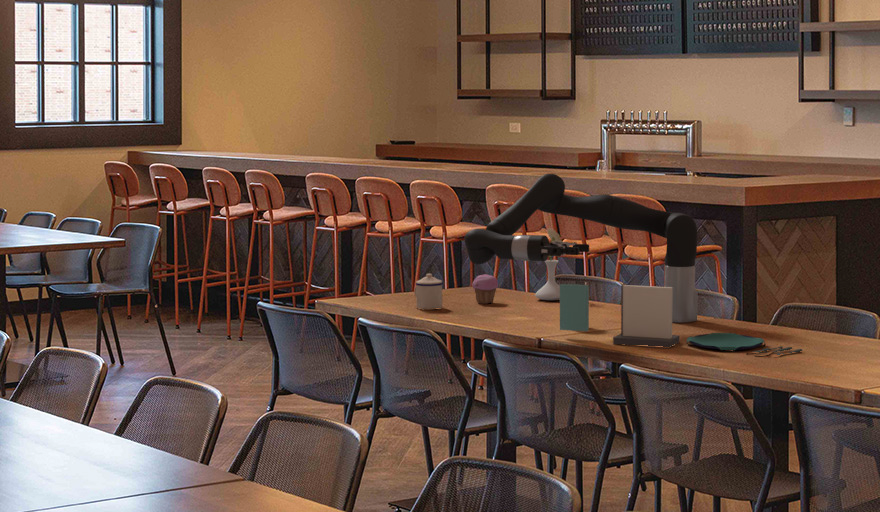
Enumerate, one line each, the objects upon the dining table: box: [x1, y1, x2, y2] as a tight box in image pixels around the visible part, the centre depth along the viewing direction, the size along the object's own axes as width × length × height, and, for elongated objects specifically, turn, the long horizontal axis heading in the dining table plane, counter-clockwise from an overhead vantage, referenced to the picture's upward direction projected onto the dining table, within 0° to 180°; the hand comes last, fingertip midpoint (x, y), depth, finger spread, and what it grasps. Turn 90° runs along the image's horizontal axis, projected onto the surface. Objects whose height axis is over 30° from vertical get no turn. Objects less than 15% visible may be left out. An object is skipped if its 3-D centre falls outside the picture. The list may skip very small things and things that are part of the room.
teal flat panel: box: [559, 283, 590, 332], centre depth 354 cm, size 8×2×13 cm, turn 64°
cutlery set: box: [686, 332, 803, 355], centre depth 337 cm, size 20×30×2 cm, turn 35°
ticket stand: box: [612, 284, 680, 347], centre depth 345 cm, size 16×10×16 cm, turn 64°
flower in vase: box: [534, 227, 563, 302], centre depth 432 cm, size 13×11×25 cm
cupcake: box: [471, 273, 499, 305], centre depth 427 cm, size 9×9×10 cm
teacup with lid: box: [414, 273, 443, 309], centre depth 417 cm, size 12×9×12 cm
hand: (583, 249), depth 351 cm, fingers open, 8 cm apart
